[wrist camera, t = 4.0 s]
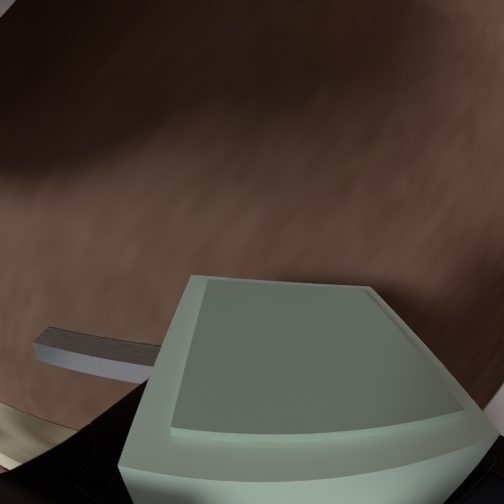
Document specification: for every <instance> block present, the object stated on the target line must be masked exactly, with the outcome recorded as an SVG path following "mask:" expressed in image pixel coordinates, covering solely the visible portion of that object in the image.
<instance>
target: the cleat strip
mask: <svg viewBox="0 0 504 504" xmlns="http://www.w3.org/2000/svg"><path fill="white" fill-rule="evenodd" d="M32 343H33V346H34V350H35V354H36V357H37V360H38V361H41V362H45V363H48V364H52V365H55V366H59V367H63V368H67V369H71V370H75V371H79V372H84V373H88V374H92V375H97V376H102V377H107V378H112V379H117V380H122V381H128V382H134V383H140V384H141V383H143V382H144V381H145V380H147V379H148V378H149V377H150V375H151V372H152V370H153V367H154V364H155V362H156V359H157V357H158V354H159V352H160V349H161V347H162V346H155V345H147V344H140V343H133V342H126V341H120V340H114V339H108V338H102V337H96V336H91V335H85V334H80V333H75V332H70V331H65V330H60V329H56V328H51V327H47V328H46V329H45V330H44V331H43V332H42V333H41V334H40V335H39V336H38V337H37V338H36V339H35V340H34V341H33V342H32Z"/></svg>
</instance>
